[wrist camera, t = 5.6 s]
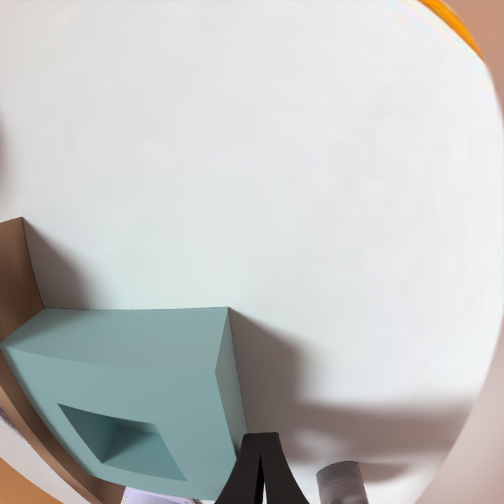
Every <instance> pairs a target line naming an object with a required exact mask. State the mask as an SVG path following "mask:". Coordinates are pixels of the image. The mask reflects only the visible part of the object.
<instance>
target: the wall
mask: <svg viewBox="0 0 504 504" xmlns="http://www.w3.org/2000/svg"><path fill="white" fill-rule="evenodd" d="M43 309H44V307H43V304H42V301H41V298H40V295H39V292H38V288H37V285H36V282H35V278H34V274H33V270H32V267H31V262H30V258H29V254H28V249H27V245H26V240H25V234H24V229H23V223H22V217H19V218H16V219H12V220H9V221H5V222H2V223H0V343H1V342H2V341H3V340H5V339H6V338H7V337H8V336H9V335H11V334H12V333H13V332H14V331H16V330H17V329H18V328H19V327H21V326H22V325H23V324H24V323H26V322H27V321H28V320H30V319H31V318H32V317H33V316H35V315H36V314H37V313H39V312H40V311H41V310H43ZM0 406H1V407H2V409H3V410H4V412H5V413H6V415H7V416H8V417H9V419H10V420H11V421H12V423H13V424H14V425H15V427H16V428H17V429H18V431H19V432H20V433H21V434H22V436H23V437H24V438H25V439H26V441H27V442H28V443H29V444H30V445H31V447H32V448H33V449H34V450H35V451H36V452H37V453H38V454H39V456H40V457H41V458H42V459H43V460H44V461H45V462H46V463H47V464H48V465H49V466H50V467H51V468H52V469H53V470H54V471H55V472H56V473H57V474H58V475H59V476H60V477H61V478H62V479H63V480H64V481H65V482H66V483H67V484H69V485H70V486H71V487H72V488H73V489H74V490H75V491H76V492H78V493H79V494H80V495H81V496H82V497H84V498H85V499H86V500H87V501H89V502H90V503H91V504H120V503H121V500H122V497H123V494H124V492H125V489H126V486H123V485H120V484H116V483H113V482H109V481H106V480H103V479H100V478H97V477H94V476H91V475H88V474H87V473H86V472H85V471H84V470H83V469H82V468H81V467H80V466H79V465H78V464H77V463H76V462H75V461H74V459H73V458H72V457H71V456H70V455H69V454H68V453H67V451H66V450H65V449H64V448H63V447H62V446H61V444H60V443H59V442H58V441H57V439H56V438H55V437H54V436H53V434H52V433H51V432H50V430H49V429H48V428H47V426H46V425H45V424H44V422H43V421H42V419H41V418H40V417H39V415H38V414H37V412H36V411H35V409H34V408H33V406H32V405H31V403H30V402H29V400H28V398H27V397H26V395H25V394H24V392H23V390H22V389H21V387H20V385H19V384H18V382H17V380H16V378H15V376H14V375H13V373H12V371H11V369H10V367H9V365H8V363H7V361H6V359H5V357H4V355H3V353H2V351H1V349H0Z"/></svg>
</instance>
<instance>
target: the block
mask: <svg viewBox="0 0 504 504" xmlns="http://www.w3.org/2000/svg"><path fill="white" fill-rule="evenodd" d="M0 349H1V351H2V353H3V355H4V357H5V359H6V361H7V363H8V365H9V367H10V369H11V371H12V373H13V375H14V376H15V378H16V380H17V382H18V384H19V385H20V387H21V389H22V390H23V392H24V394H25V395H26V397H27V398H28V400H29V402H30V403H31V405H32V406H33V408H34V409H35V411H36V412H37V414H38V415H39V417H40V418H41V419H42V421H43V422H44V424H45V425H46V426H47V428H48V429H49V430H50V432H51V433H52V434H53V436H54V437H55V438H56V439H57V441H58V442H59V443H60V444H61V446H62V447H63V448H64V449H65V450H66V451H67V453H68V454H69V455H70V456H71V457H72V458H73V459H74V461H75V462H76V463H77V464H78V465H79V466H80V467H81V468H82V469H83V470H84V471H85V472H86V473H87V474H88V475H91V476H94V477H97V478H100V479H103V480H106V481H109V482H113V483H116V484H120V485H123V486H127V487H131V488H135V489H139V490H144V491H148V492H153V493H158V494H164V495H169V496H176V497H183V498H191V499H200V500H213V501H216V500H217V498H218V497H219V495H220V493H221V492H222V490H223V488H224V486H225V484H226V482H227V480H228V478H229V476H230V474H231V471H232V469H233V467H234V464H235V462H236V459H237V456H238V454H239V451H240V447H241V443H242V439H243V435H244V434H248V430H247V424H246V419H245V413H244V407H243V401H242V395H241V389H240V383H239V377H238V370H237V364H236V358H235V351H234V344H233V338H232V331H231V324H230V316H229V309H228V307H212V308H189V309H153V310H89V309H56V308H44V309H43V310H41V311H40V312H39V313H37V314H36V315H35V316H33V317H32V318H31V319H30V320H28V321H27V322H26V323H24V324H23V325H22V326H21V327H19V328H18V329H17V330H16V331H14V332H13V333H12V334H11V335H9V336H8V337H7V338H6V339H5V340H3V341H2V342H1V343H0Z"/></svg>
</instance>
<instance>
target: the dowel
mask: <svg viewBox="0 0 504 504" xmlns="http://www.w3.org/2000/svg"><path fill="white" fill-rule="evenodd" d="M316 477H317V483H318V489H319V496H320V502H321V504H369V502H368V498H367V495H366V491H365V487H364V484H363V480H362V477H361V473H360V470H359V467H358V464H357V463H356V462H353V461H345V462H339V463H335V464H332V465H329V466H327V467H325V468H323V469H321V470H320V471H319V472H318V473H317V475H316Z"/></svg>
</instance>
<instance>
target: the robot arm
mask: <svg viewBox="0 0 504 504" xmlns="http://www.w3.org/2000/svg"><path fill="white" fill-rule="evenodd" d="M264 481H265V489H266V498H267V504H309V502H308V501H307V499H306V498H305V496H304V495H303V493H302V491H301V489H300V488H299V486H298V484H297V482H296V481H295V479H294V477H293V475H292V472H291V470H290V468H289V466H288V464H287V461H286V459H285V456H284V453H283V450H282V447H281V444H280V439H279V433H277V432H271V433H252V434H244V435H243V439H242V443H241V447H240V451H239V454H238V456H237V459H236V462H235V464H234V467H233V469H232V471H231V474H230V476H229V478H228V480H227V482H226V484H225V486H224V488H223V490H222V492H221V493H220V495H219V497H218V498H217V500H216V502H215V503H214V504H262V503H263V492H264ZM123 495H124V496H125V497H126V498H127V499H126V502H125V504H195V502H194V501H193V500H192V499H191V498H183V497H176V496H169V495H164V494H158V493H153V492H148V491H144V490H139V489H135V488H131V487H127V486H126V489H125V492H124V494H123Z"/></svg>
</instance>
